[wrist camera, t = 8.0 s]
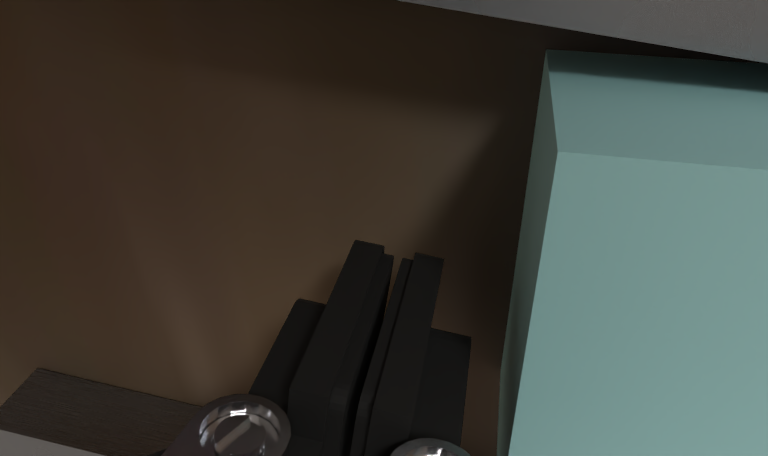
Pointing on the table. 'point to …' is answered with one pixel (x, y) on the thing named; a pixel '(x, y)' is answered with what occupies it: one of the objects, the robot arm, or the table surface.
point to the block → (641, 263)
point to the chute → (521, 3)
